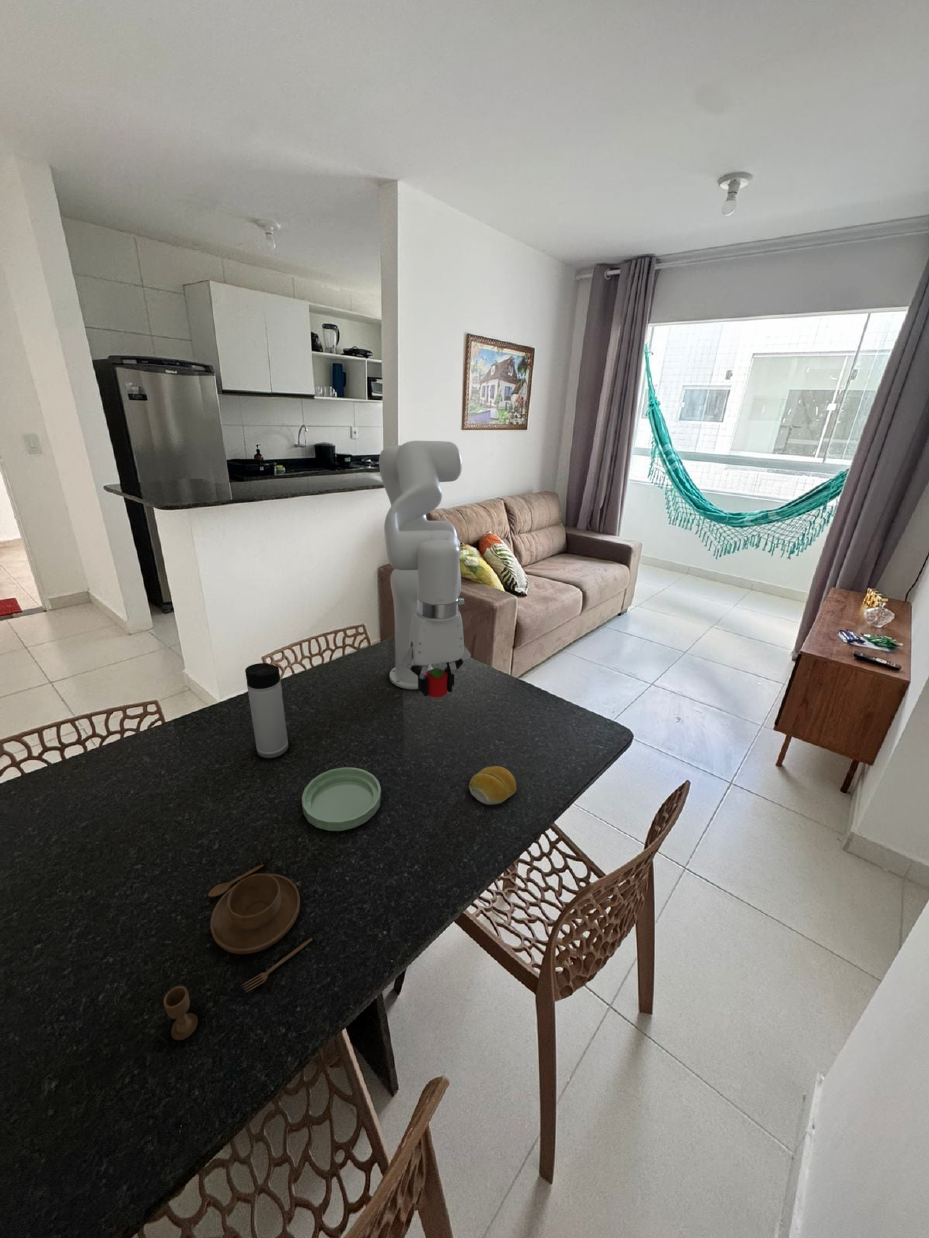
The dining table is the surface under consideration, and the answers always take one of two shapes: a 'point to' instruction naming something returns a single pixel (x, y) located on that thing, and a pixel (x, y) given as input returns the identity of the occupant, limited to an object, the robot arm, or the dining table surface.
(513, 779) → the bread roll
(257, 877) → the place setting
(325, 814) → the dish
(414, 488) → the robot arm
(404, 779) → the dining table surface
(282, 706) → the travel mug
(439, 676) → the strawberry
